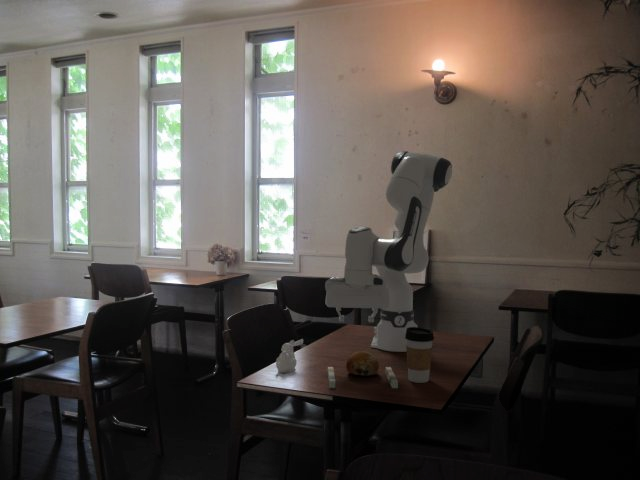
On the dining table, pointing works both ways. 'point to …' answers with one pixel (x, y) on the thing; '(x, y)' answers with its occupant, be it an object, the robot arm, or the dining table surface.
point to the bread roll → (362, 364)
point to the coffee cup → (419, 353)
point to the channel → (388, 373)
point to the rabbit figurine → (287, 357)
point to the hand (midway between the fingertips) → (356, 321)
